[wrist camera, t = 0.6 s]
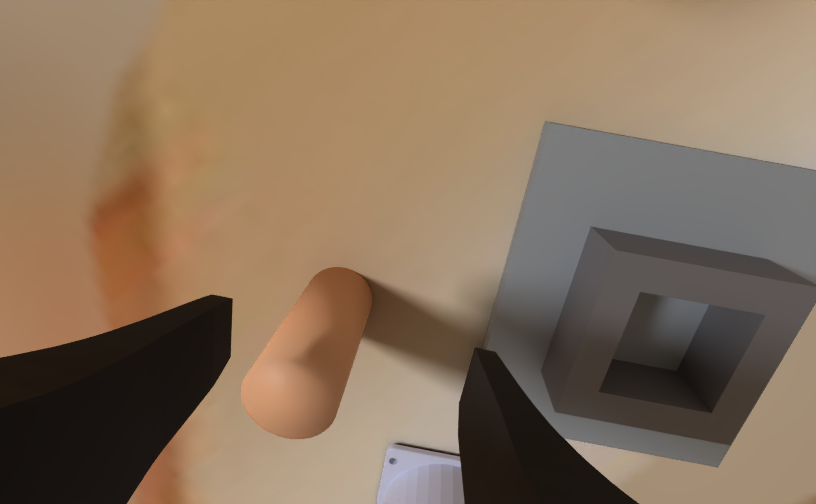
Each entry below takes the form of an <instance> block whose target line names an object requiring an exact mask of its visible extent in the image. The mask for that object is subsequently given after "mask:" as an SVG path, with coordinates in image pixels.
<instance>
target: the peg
mask: <svg viewBox="0 0 816 504" xmlns="http://www.w3.org/2000/svg"><path fill="white" fill-rule="evenodd" d="M372 302H373V297H372V292H371V289H370V287H369V285H368V283H367V282H366V281H365V280H364V278H363V277H361V276H360V275H359V274H357V273H356V272H354V271H352V270H349V269H346V268H341V267H333V268H328V269H325V270H323V271H321V272H319V273H318V274H316V275H315V276H314V278H313V279H312V280H311V282H310V283H309V285H308V286H307V288H306V289H305V290H304V292H303V293H302V295H301V296H300V298H299V299H298V301H297V302H296V304H295V305H294V307H293V308H292V309H291V311H290V312H289V314H288V315H287V317H286V318H285V320H284V321H283V323H282V324H281V325H280V327H279V328H278V330H277V331H276V333H275V334H274V336H273V337H272V339H271V340H270V342H269V343H268V344H267V346H266V347H265V349H264V350H263V352H262V353H261V355H260V356H259V358H258V359H257V360H256V362H255V363H254V365H253V366H252V368H251V369H250V371H249V372H248V374H247V375H246V376H245V378H244V380H243V383H242V386H241V399H242V403H243V406H244V408H245V410H246V412H247V413H248V415H249V416H250V417H251V419H252V420H253V421H254V422H255V423H256V424H257V425H259V426H260V427H261V428H263V429H264V430H266V431H268V432H270V433H272V434H274V435H277V436H280V437H284V438H289V439H305V438H310V437H314V436H316V435H318V434H320V433H322V432H324V431H325V430H326V429H327V428H329V426H330V425H331V424H332V423H333V421H334V419H335V417H336V414H337V411H338V408H339V405H340V402H341V399H342V396H343V393H344V390H345V387H346V384H347V380H348V377H349V374H350V371H351V368H352V365H353V362H354V359H355V356H356V353H357V350H358V347H359V344H360V341H361V338H362V335H363V332H364V329H365V326H366V323H367V320H368V317H369V314H370V311H371V307H372Z"/></svg>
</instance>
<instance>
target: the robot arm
mask: <svg viewBox="0 0 816 504" xmlns="http://www.w3.org/2000/svg"><path fill="white" fill-rule="evenodd" d="M232 300H233V299H232V298H227V297H222V296H217V295H209V296H206V297H202V298H200V299H197V300H194V301H191V302H189V303H186V304H184V305H181V306H178V307H176V308H173V309H171V310H168V311H165V312H163V313H160V314H157V315H155V316H152V317H150V318H147V319H144V320H141V321H138V322H135V323H133V324H130V325H127V326H124V327H121V328H118V329H115V330H112V331H109V332H106V333H103V334H100V335H96V336H93V337H89V338H86V339H82V340H79V341H75V342H71V343H67V344H63V345H59V346H55V347H51V348H46V349H41V350H37V351H32V352H27V353H22V354H17V355H13V356H7V357H2V358H0V504H127V502H128V501H129V499H130V498H131V496H132V495H133V493H134V491H135V490H136V488H137V487H138V485H139V484H140V482H141V481H142V479H143V478H144V476H145V475H146V473H147V471H148V470H149V468H150V467H151V465H152V464H153V463H154V461H155V460H156V458H157V457H158V456H159V454H160V453H161V452H162V450H163V449H164V448H165V446H166V445H167V444H168V443H169V441H170V440H171V439H172V438H173V436H174V435H175V434H176V433H177V431H178V430H179V429H180V428H181V426H182V425H183V424H184V423H185V421H186V420H187V419H188V418H189V416H190V415H191V414H192V413H193V411H194V410H195V409H196V408H197V406H198V405H199V404H200V403H201V401H202V400H203V399H204V397H205V396H206V395H207V394H208V392H209V391H210V390H211V388H212V387H213V386H214V384H215V382H216V381H217V379H218V378H219V376H220V374H221V373H222V371H223V369H224V367H225V366H226V364H227V362H228V360H229V359H230V357H231V329H232ZM458 440H459V451H460V457H459V456H454V455H449V454H444V453H438V452H433V451H428V450H423V449H417V448H412V447H407V446H402V445H397V444H393V445H390V446H389V447H388V448H387V452H386V457H385V462H384V467H383V472H382V477H381V482H380V487H379V492H378V497H377V502H376V504H639V503H637V502H636V501H634V500H633V499H632V498H630V497H629V496H628V495H627V494H625V493H624V492H623V491H622V490H620V489H619V488H618V487H617V486H615V485H614V484H613V483H612V482H610V481H609V480H608V479H607V478H606V477H605V476H603V475H602V474H601V473H600V472H599V471H598V470H596V469H595V468H594V467H593V466H592V465H591V464H590V463H588V462H587V461H586V460H585V459H584V458H583V457H582V456H581V455H580V454H579V453H578V452H577V451H576V450H575V449H574V448H573V447H572V446H571V445H570V444H569V443H568V442H567V441H566V440H565V439H564V438H563V437H562V436H561V435H560V434H559V433H558V432H557V431H556V430H555V429H554V428H553V426H552V425H551V424H550V423H549V422H548V421H547V420H546V418H545V417H544V416H543V415H542V414H541V412H540V411H539V410H538V409H537V408H536V406H535V405H534V404H533V403H532V401H531V400H530V399H529V398H528V396H527V395H526V394H525V392H524V391H523V390H522V388H521V387H520V385H519V384H518V383H517V381H516V380H515V379H514V377H513V376H512V374H511V373H510V371H509V370H508V369H507V367H506V366H505V364H504V363H503V361H502V360H501V358H500V357H499V356H498V354H497V353H496V352H495V351H490V350H485V349H480V348H475V349H474V353H473V356H472V360H471V363H470V367H469V370H468V374H467V377H466V381H465V384H464V388H463V391H462V395H461V399H460V402H459V420H458ZM391 458H395V459H391Z"/></svg>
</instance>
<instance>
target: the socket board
mask: <svg viewBox="0 0 816 504" xmlns="http://www.w3.org/2000/svg"><path fill="white" fill-rule="evenodd" d="M815 303H816V170H812V169H806V168H801V167H795V166H790V165H784V164H779V163H773V162H768V161H762V160H757V159H751V158H746V157H740V156H735V155H729V154H723V153H718V152H712V151H707V150H701V149H696V148H690V147H685V146H679V145H674V144H668V143H663V142H657V141H652V140H646V139H641V138H635V137H630V136H624V135H619V134H613V133H608V132H602V131H597V130H591V129H586V128H580V127H575V126H569V125H564V124H558V123H553V122H547V121H545V124H544V127H543V131H542V134H541V138H540V142H539V145H538V149H537V153H536V156H535V160H534V163H533V167H532V171H531V174H530V178H529V181H528V185H527V189H526V192H525V196H524V200H523V203H522V207H521V210H520V214H519V218H518V221H517V225H516V228H515V232H514V236H513V239H512V243H511V247H510V250H509V254H508V257H507V261H506V265H505V268H504V272H503V275H502V279H501V283H500V286H499V290H498V294H497V297H496V301H495V304H494V308H493V312H492V315H491V319H490V323H489V326H488V330H487V333H486V337H485V341H484V344H483V348H482V349H485V350H490V351H495V352H496V353H497V354H498V356H499V357H500V358H501V360H502V361H503V363H504V364H505V366H506V367H507V369H508V370H509V371H510V373H511V374H512V376H513V377H514V379H515V380H516V381H517V383H518V384H519V385H520V387H521V388H522V390H523V391H524V392H525V394H526V395H527V396H528V398H529V399H530V400H531V401H532V403H533V404H534V405H535V406H536V408H537V409H538V410H539V411H540V412H541V414H542V415H543V416H544V417H545V418H546V420H547V421H548V422H549V423H550V424H551V425H552V426H553V428H554V429H555V430H556V431H557V432H558V433H559V434H560V435H561V436H562V437H563V438H566V439H571V440H576V441H582V442H587V443H592V444H597V445H603V446H608V447H613V448H619V449H624V450H629V451H634V452H640V453H645V454H650V455H655V456H661V457H666V458H671V459H677V460H682V461H687V462H692V463H697V464H703V465H708V466H713V467H718V466H719V465H720V463H721V461H722V460H723V458H724V456H725V454H726V453H727V451H728V450H729V448H730V446H731V444H732V443H733V441H734V439H735V438H736V436H737V434H738V433H739V431H740V429H741V428H742V426H743V424H744V422H745V421H746V419H747V418H748V416H749V414H750V412H751V411H752V409H753V408H754V406H755V404H756V403H757V401H758V399H759V397H760V396H761V394H762V392H763V391H764V389H765V387H766V386H767V384H768V382H769V381H770V379H771V377H772V376H773V374H774V372H775V371H776V369H777V367H778V366H779V364H780V362H781V361H782V359H783V357H784V355H785V354H786V352H787V350H788V349H789V347H790V345H791V344H792V342H793V340H794V339H795V337H796V335H797V334H798V332H799V330H800V329H801V327H802V325H803V324H804V322H805V320H806V318H807V317H808V315H809V313H810V312H811V310H812V308H813V307H814V305H815Z"/></svg>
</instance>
